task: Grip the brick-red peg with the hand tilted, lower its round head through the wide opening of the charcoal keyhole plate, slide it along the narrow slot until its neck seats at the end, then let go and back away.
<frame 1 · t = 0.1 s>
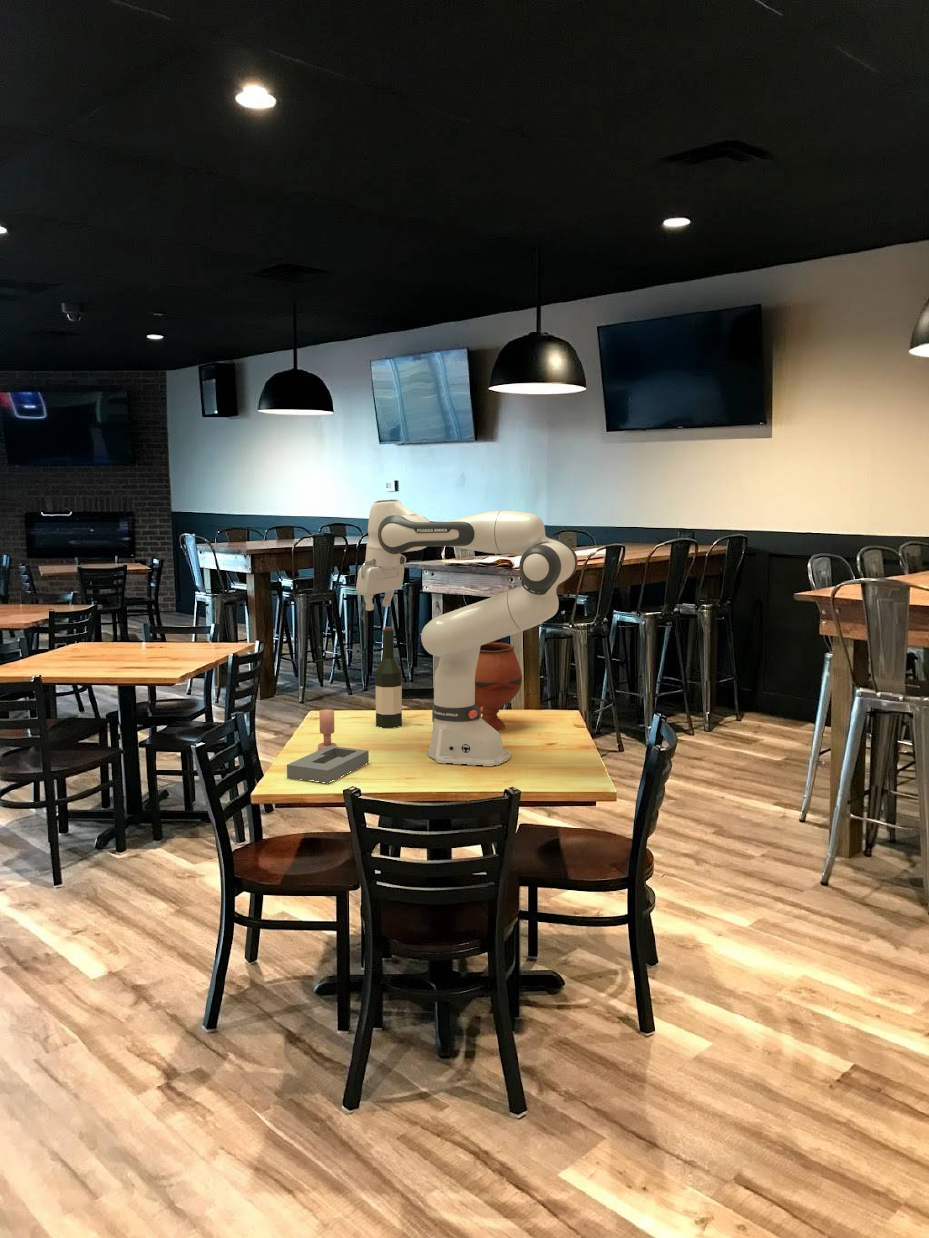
hand: (377, 608, 278), 39 cm above the table, tool pointing down, fingers open, 8 cm apart
peg: (327, 749, 278), on the table
goblet: (489, 728, 304), on the table
wine bottle: (389, 725, 306), on the table
keyhole plate: (328, 770, 259), on the table
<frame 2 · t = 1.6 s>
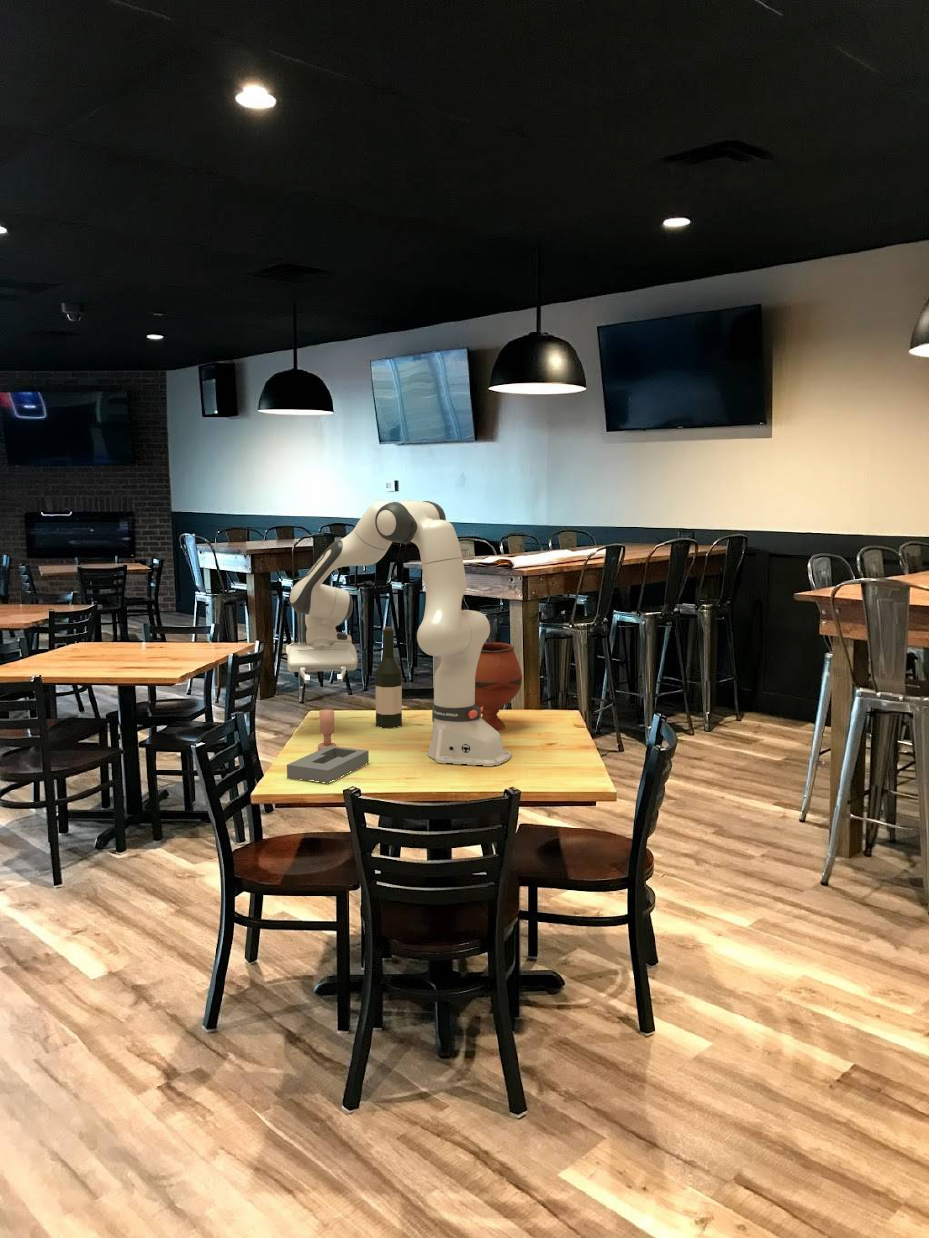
hand: (323, 681, 288), 17 cm above the table, tool tilted 45°, fingers open, 8 cm apart
nothing on the table moved.
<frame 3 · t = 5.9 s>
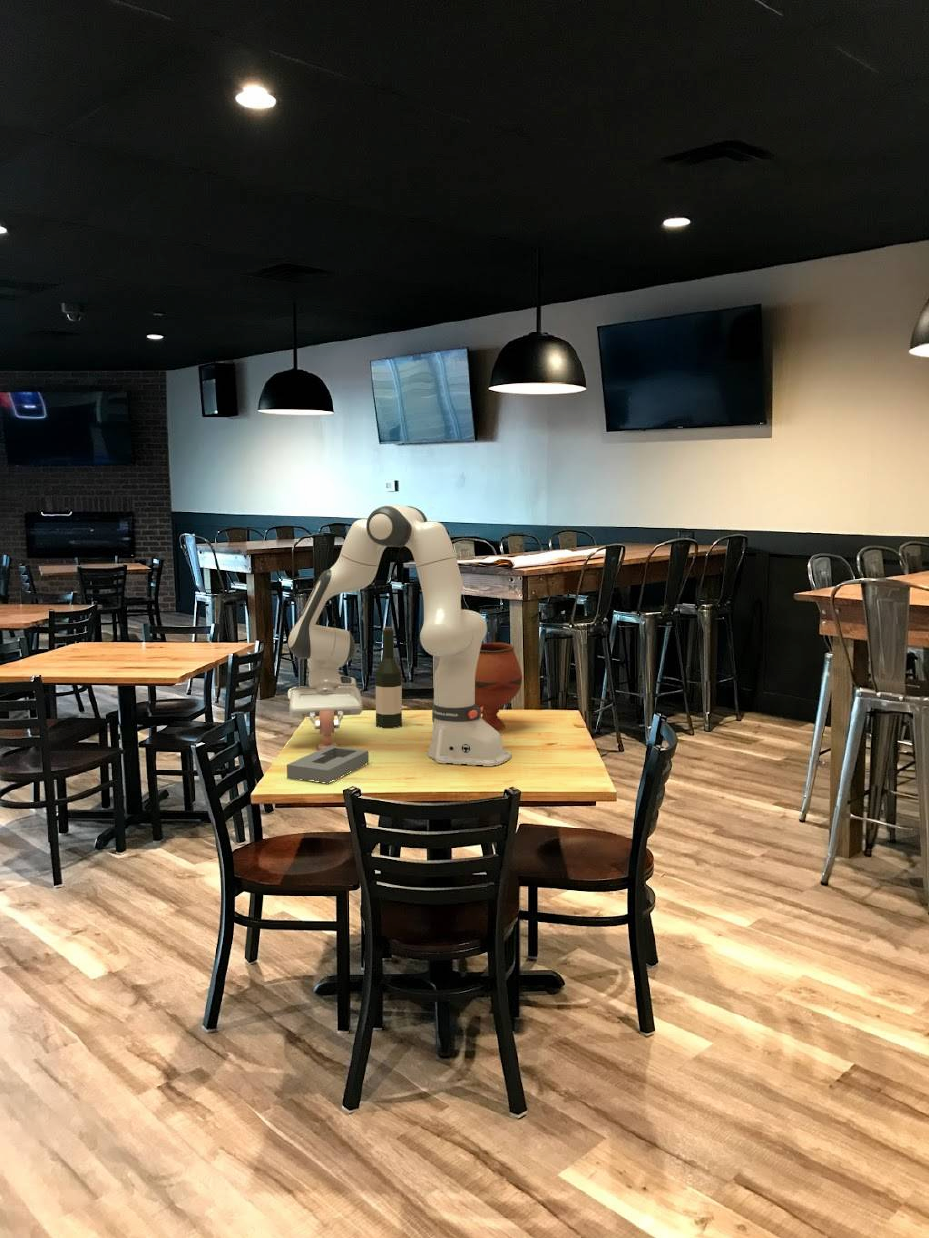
hand: (327, 727, 277), 6 cm above the table, tool tilted 45°, fingers closed on peg, 4 cm apart
peg: (327, 749, 278), on the table, touching gripper
everything else where it was.
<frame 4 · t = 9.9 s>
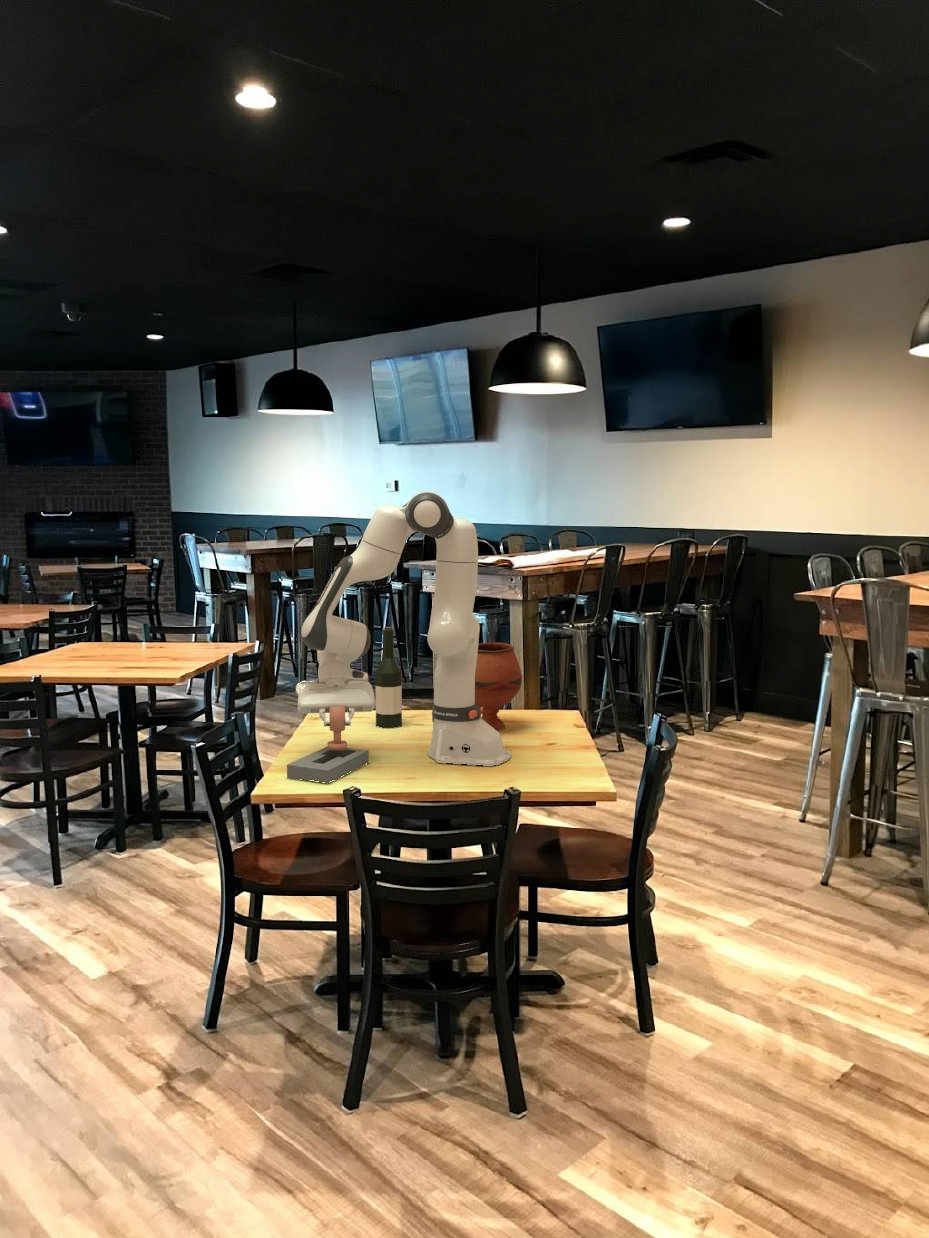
hand: (337, 724, 261), 11 cm above the table, tool tilted 45°, fingers closed on peg, 4 cm apart
peg: (337, 748, 263), point 5 cm above the table, touching gripper
everything else where it was.
when the fingers open (7 cm above the table, at t = 14.1 s): peg stays where it is, resting in keyhole plate.
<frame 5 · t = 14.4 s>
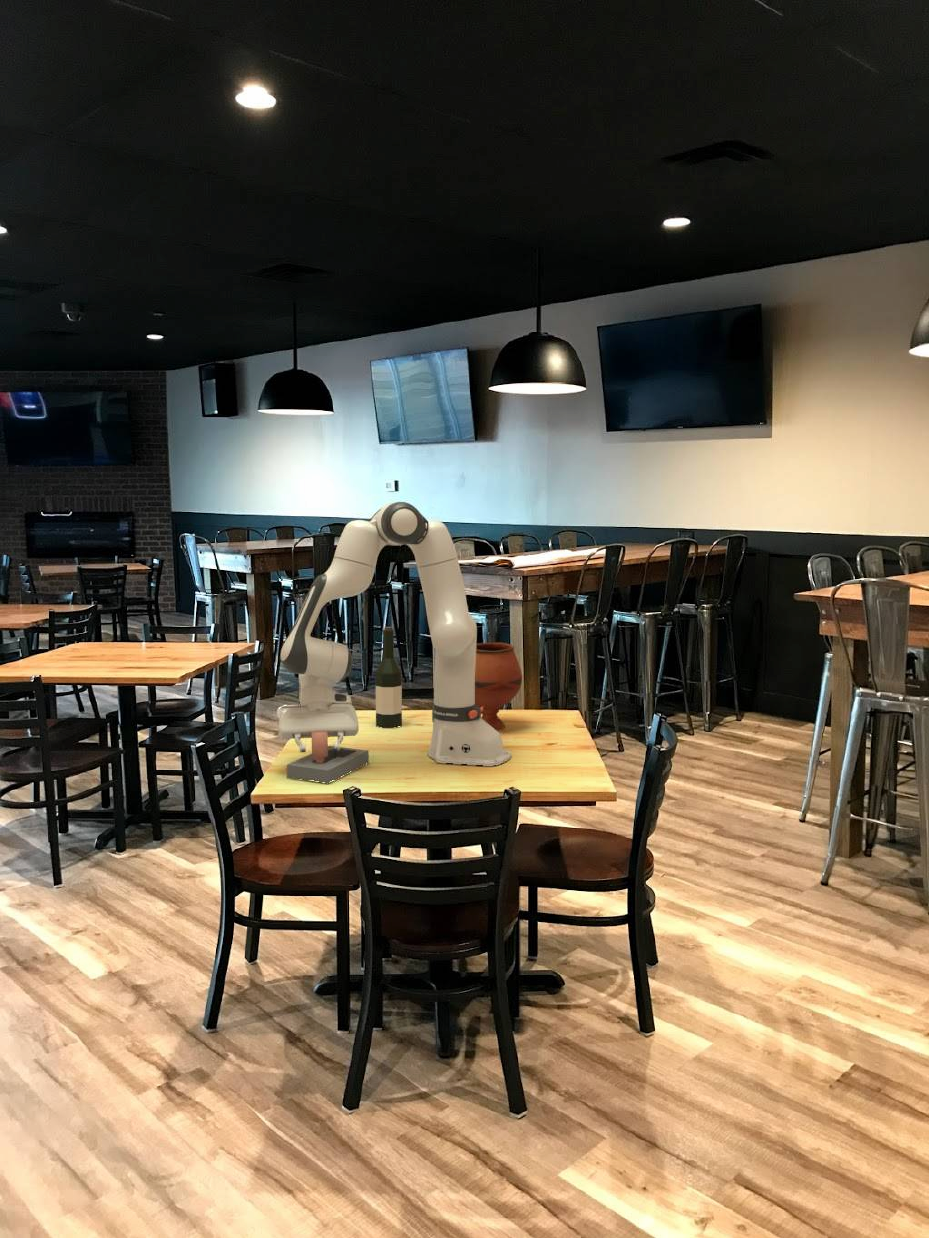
hand: (319, 750, 253), 7 cm above the table, tool tilted 45°, fingers open, 7 cm apart
peg: (320, 775, 255), resting in keyhole plate
everything else where it was.
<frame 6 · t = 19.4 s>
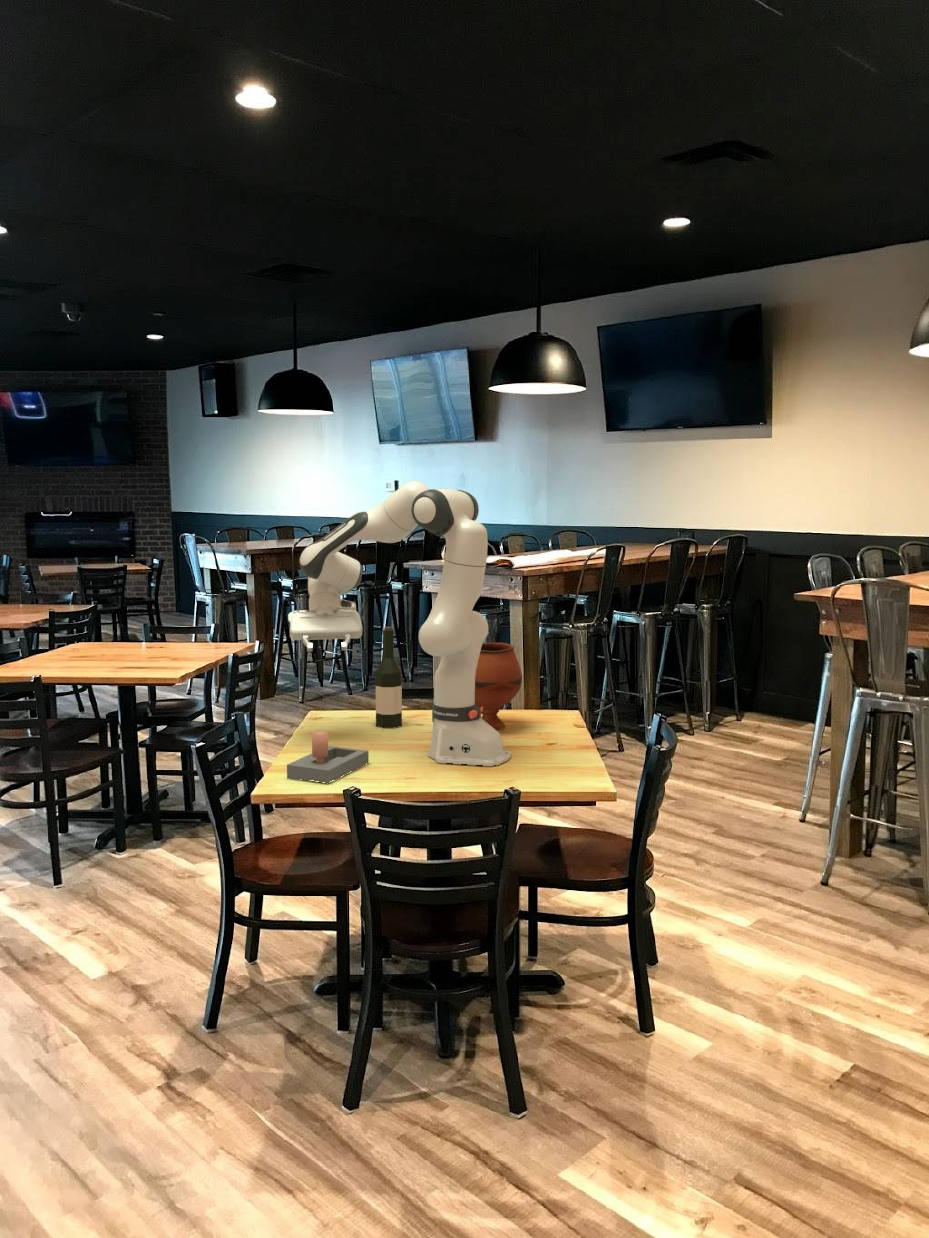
hand: (327, 649, 278), 27 cm above the table, tool tilted 45°, fingers open, 8 cm apart
nothing on the table moved.
at the end: peg 0.0 cm from the target spot on the keyhole plate, point 0.0 cm above the keyhole plate's base; peg tilted 0°; the gripper is holding nothing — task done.
